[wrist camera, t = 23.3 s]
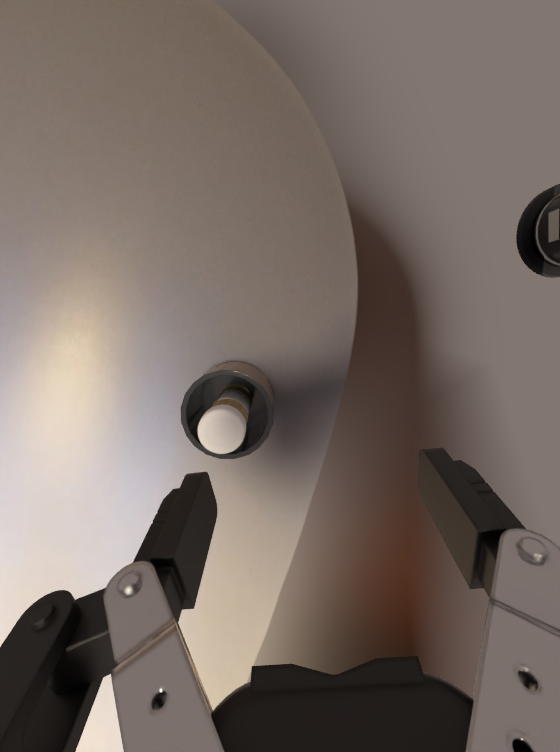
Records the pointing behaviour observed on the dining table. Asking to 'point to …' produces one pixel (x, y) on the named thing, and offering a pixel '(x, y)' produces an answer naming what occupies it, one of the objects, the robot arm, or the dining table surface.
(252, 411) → the dark gray cylindrical container
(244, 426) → the sprinkles bottle
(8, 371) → the dining table surface
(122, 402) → the dining table surface
